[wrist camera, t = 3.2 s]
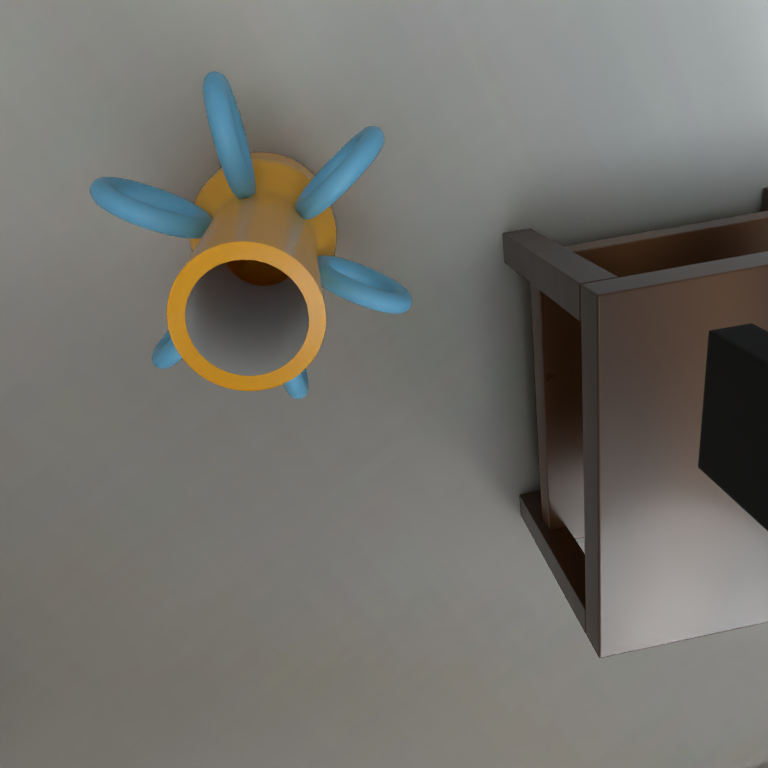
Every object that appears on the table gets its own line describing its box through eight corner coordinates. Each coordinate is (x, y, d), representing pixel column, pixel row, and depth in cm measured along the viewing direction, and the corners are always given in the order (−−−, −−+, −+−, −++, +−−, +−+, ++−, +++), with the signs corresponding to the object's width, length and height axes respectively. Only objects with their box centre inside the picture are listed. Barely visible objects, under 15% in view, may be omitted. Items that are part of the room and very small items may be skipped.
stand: (520, 515, 39) (619, 696, 27) (502, 233, 32) (624, 313, 20) (758, 468, 40) (952, 623, 28) (791, 183, 33) (1069, 232, 21)
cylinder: (401, 316, 33) (478, 471, 20) (198, 363, 33) (132, 553, 19) (350, 51, 28) (405, 9, 14) (109, 102, 28) (-68, 108, 14)
